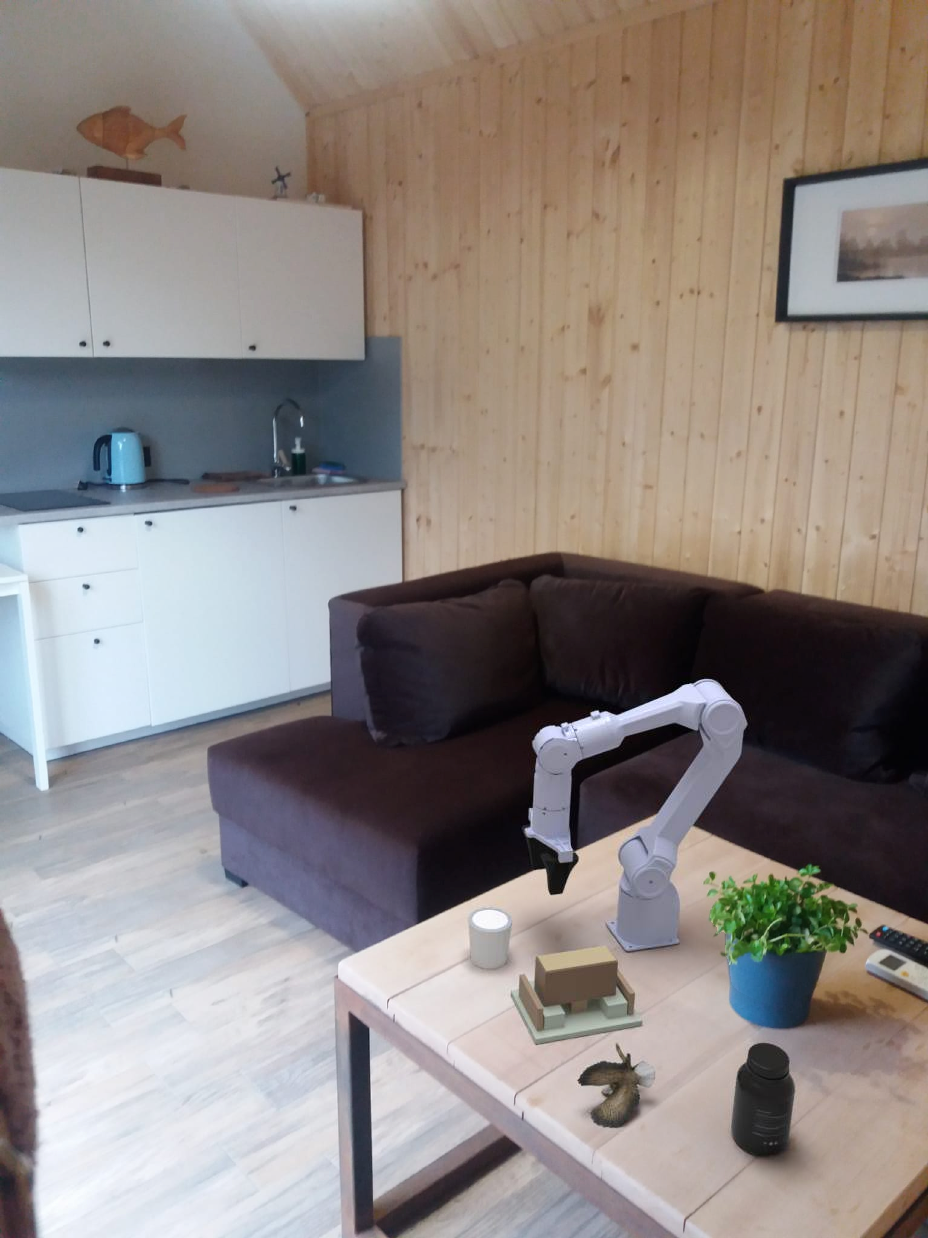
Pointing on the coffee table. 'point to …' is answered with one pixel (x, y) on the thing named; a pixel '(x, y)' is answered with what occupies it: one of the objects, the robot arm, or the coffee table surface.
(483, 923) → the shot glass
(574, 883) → the coffee table surface
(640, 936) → the robot arm
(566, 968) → the tan rectangular box
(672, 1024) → the coffee table surface
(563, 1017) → the display cradle
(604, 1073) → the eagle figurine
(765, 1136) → the supplement bottle
